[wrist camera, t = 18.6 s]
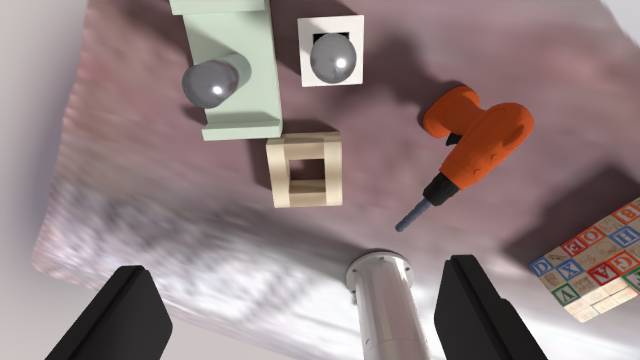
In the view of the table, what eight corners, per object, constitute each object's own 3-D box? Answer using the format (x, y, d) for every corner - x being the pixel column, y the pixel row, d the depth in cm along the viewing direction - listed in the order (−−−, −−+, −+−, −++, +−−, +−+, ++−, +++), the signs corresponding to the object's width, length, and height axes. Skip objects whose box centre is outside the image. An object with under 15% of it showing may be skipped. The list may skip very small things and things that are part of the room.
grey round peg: (253, 85, 38) (229, 107, 29) (223, 87, 39) (188, 109, 29) (248, 51, 37) (220, 63, 27) (216, 53, 37) (176, 66, 27)
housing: (357, 76, 39) (362, 83, 35) (304, 78, 40) (302, 86, 35) (358, 15, 36) (363, 15, 32) (300, 18, 36) (297, 18, 32)
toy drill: (360, 177, 45) (389, 233, 31) (457, 77, 40) (541, 90, 26) (383, 196, 47) (420, 257, 33) (478, 101, 42) (568, 125, 28)
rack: (283, 127, 43) (279, 137, 39) (213, 130, 43) (204, 140, 40) (268, -5, 35) (262, -7, 32) (184, 0, 35) (168, -2, 32)
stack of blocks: (544, 280, 57) (595, 341, 47) (526, 264, 55) (576, 324, 45) (664, 210, 50) (760, 265, 39) (649, 189, 48) (745, 240, 37)
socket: (340, 191, 48) (342, 205, 44) (278, 193, 48) (274, 207, 45) (339, 131, 43) (341, 141, 39) (270, 134, 43) (265, 144, 40)
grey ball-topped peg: (348, 66, 38) (356, 82, 29) (313, 68, 38) (311, 84, 29) (348, 28, 36) (356, 32, 27) (311, 30, 36) (308, 35, 27)
